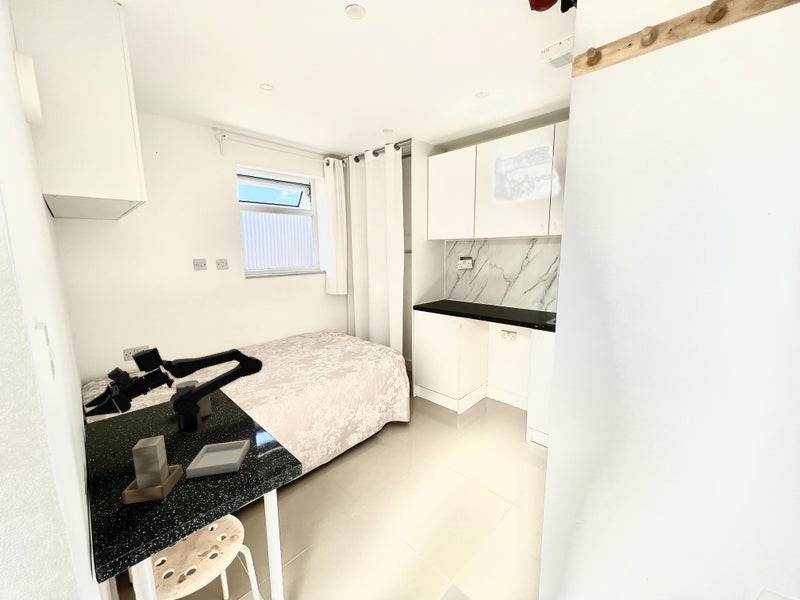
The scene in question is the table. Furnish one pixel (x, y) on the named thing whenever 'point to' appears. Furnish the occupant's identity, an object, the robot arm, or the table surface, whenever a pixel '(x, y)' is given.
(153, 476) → the maple block
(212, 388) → the robot arm
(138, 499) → the oak collar
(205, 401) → the skincare box
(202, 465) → the white tray
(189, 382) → the canned food
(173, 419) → the table surface
